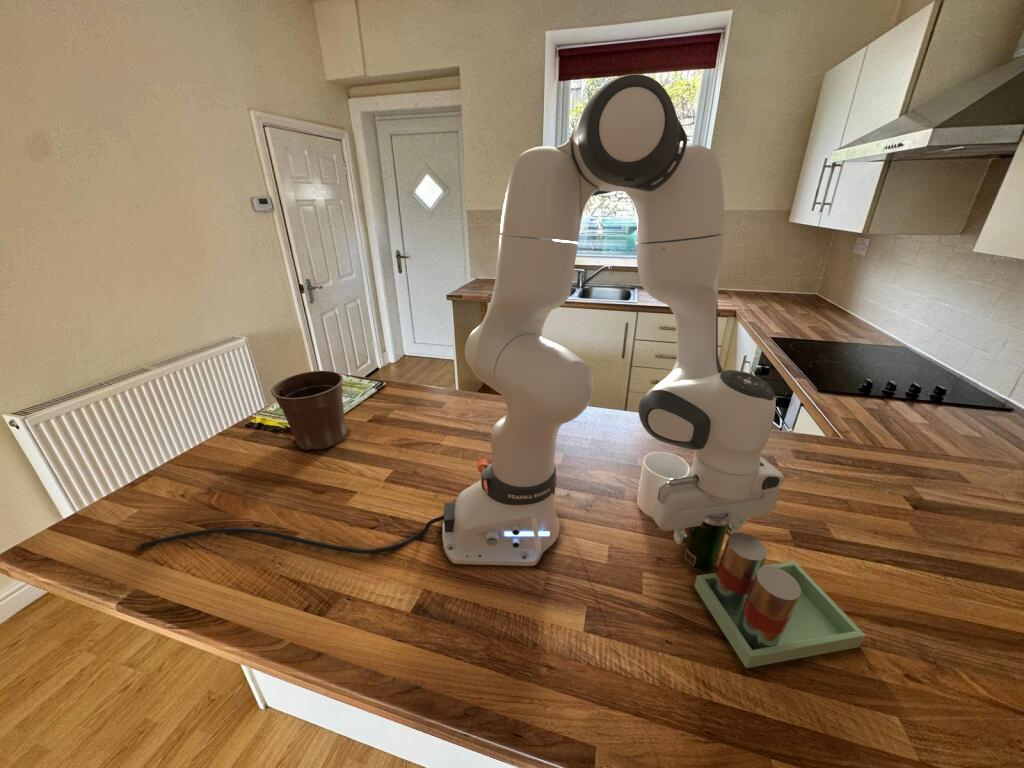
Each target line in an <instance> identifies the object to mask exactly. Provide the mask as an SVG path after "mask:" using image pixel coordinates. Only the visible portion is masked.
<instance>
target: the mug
mask: <svg viewBox="0 0 1024 768" xmlns="http://www.w3.org/2000/svg"><path fill="white" fill-rule="evenodd" d="M690 472H691V466H690V465H689V463H688V462H687V461H686V460H685V459H684V458H682V457H681V456H678V455H677V454H674V453H672V452H666V451H652V452H649V453H647V454H646V455H645V456H644V457H643V461H642V467H641V472H640V477H639V483H638V490H637V496H636V502H637V507H638V508H639V509H640V511H641V512H642V513H643V514H645V515H646V516H648V517H650V518H652V519H653V517H652V515H651V511H652V507H653V504H654V501H655V498H656V495H657V493H658V489H659V487H660V486H661V485H663V484H664V483H666V482H668V480H669V479H671V478H682V477H685V476H690Z"/></svg>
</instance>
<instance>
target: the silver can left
mask: <svg viewBox="0 0 1024 768" xmlns="http://www.w3.org/2000/svg"><path fill="white" fill-rule="evenodd" d="M766 547H767V546H765V545H764V543H763V542H762V541H761V540H759V538H756V536H754V535H751V534H748V533H745V532H738V533H733V534H731V535H730V536H728V537H727V540H726V544H725V547H724V550H723V552H722V556H721V558H720V561H719V565H718V567H717V572H716V573H717V575H716V578H715V581H714V585H713V588H712V591H713V593H714V594H715V596H716V597H717V599H718V600H719V602H720V603H721V605H722V606H723V608H724V609H725V610H726V612H727V613H728V615H732V616H740V615H741V613H742V610H743V607H744V603H745V601H746V598H747V595H748V593H749V590H750V589H751V586H752V583H753V581H754V578H755V575H756V573H757V570H758V569H759V568H761V567H762V566H764V564H765V561H766V559H767V556H768V549H767V548H766Z"/></svg>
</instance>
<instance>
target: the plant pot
mask: <svg viewBox="0 0 1024 768" xmlns="http://www.w3.org/2000/svg"><path fill="white" fill-rule="evenodd" d="M343 382H344V376H343V375H342V374H341V373H339V372H337V371H335V370H311V371H306V372H301V373H297V374H294V375H291V376H288V377H286V378H284V379H281V380H280V381H278V382H276V383H275V384H274V385H273V386H272V387H271V389H270V394H271V395H272V397H274V398H275V400H276V402H277V404H278V407H279V408H280V409H281V410H282V412H283V414H284V417H285V419H286V421H287V423H288V426H289V428H290V431H291V433H292V435H293V438H294V441H295V443H296V445H297V447H299V448H300V449H301V450H305V451H310V450H315V451H321V450H324V449H328V448H331V447H333V446H335V445H337V444H338V443H340V442H342V441H343V440H344V438H345V436H346V435H347V432H348V431H347V424H346V418H345V410H344V401H343V393H344V390H343Z"/></svg>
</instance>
